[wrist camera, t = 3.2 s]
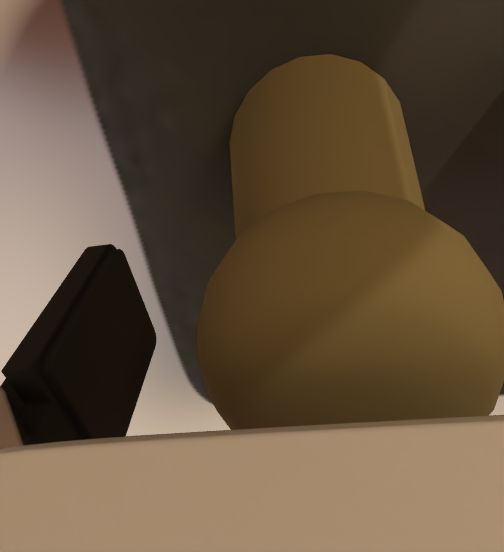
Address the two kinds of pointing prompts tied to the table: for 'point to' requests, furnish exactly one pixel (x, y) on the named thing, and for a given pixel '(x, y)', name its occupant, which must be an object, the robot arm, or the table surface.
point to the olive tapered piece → (341, 268)
